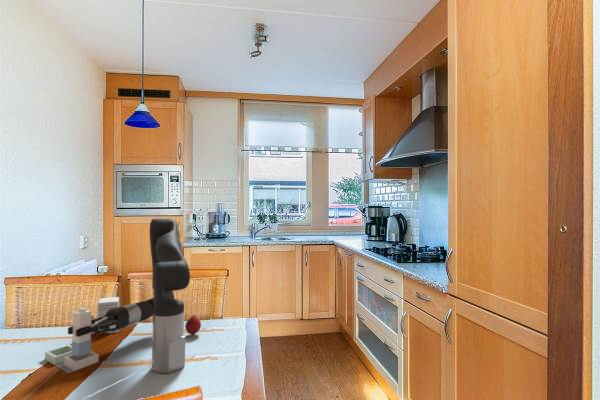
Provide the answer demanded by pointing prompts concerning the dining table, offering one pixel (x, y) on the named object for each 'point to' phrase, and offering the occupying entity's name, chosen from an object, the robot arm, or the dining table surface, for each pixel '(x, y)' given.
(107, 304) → the supplement box
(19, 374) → the dining table surface
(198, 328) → the onion
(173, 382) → the dining table surface
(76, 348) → the milk carton
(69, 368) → the double bin tray
